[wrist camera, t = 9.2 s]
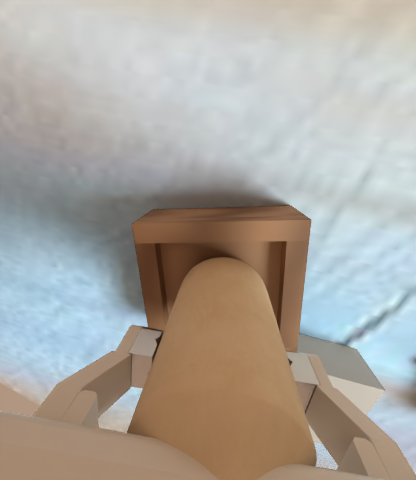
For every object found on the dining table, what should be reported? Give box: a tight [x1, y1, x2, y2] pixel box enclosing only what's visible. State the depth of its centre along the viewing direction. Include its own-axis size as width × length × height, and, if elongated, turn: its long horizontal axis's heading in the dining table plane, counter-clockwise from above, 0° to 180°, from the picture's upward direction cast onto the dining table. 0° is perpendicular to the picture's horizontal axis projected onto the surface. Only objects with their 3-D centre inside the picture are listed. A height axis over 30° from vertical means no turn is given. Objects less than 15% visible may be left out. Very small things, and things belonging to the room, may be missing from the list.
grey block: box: [297, 333, 385, 444], centre depth 19 cm, size 7×7×4 cm
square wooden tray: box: [132, 206, 311, 352], centre depth 16 cm, size 10×10×4 cm
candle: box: [127, 257, 316, 480], centre depth 10 cm, size 6×6×10 cm
